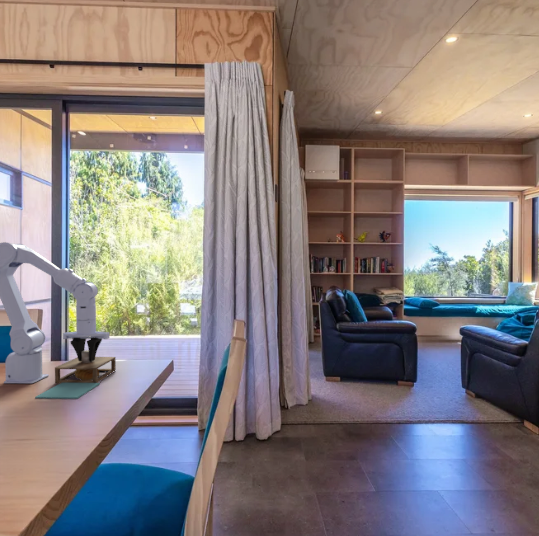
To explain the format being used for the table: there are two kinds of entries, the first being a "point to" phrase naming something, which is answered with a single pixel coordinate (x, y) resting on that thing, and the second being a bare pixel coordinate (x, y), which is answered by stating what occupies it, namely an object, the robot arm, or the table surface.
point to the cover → (85, 365)
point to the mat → (68, 390)
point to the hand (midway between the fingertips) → (86, 360)
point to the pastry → (85, 374)
